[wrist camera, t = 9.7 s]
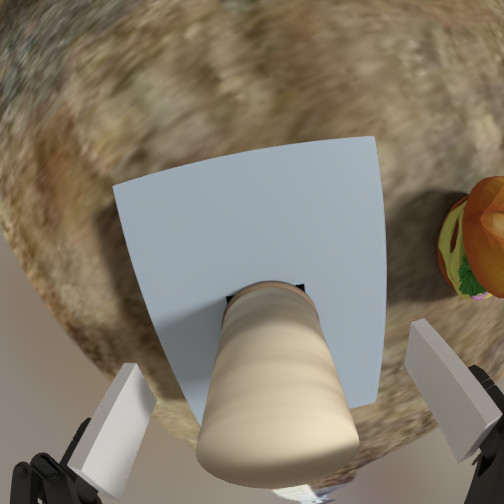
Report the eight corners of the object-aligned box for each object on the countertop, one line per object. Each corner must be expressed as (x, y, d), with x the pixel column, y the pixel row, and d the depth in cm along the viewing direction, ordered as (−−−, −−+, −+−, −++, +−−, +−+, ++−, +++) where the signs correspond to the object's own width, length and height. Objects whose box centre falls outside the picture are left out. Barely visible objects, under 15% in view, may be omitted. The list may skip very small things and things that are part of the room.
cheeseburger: (434, 311, 21) (494, 348, 11) (406, 204, 21) (470, 189, 11) (499, 271, 20) (560, 286, 10) (476, 176, 20) (539, 158, 10)
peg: (222, 263, 20) (166, 419, 7) (301, 250, 19) (370, 395, 6) (238, 329, 22) (219, 491, 8) (309, 318, 21) (354, 475, 8)
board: (145, 181, 19) (112, 186, 14) (346, 143, 18) (374, 136, 13) (208, 389, 24) (200, 427, 20) (360, 366, 23) (375, 401, 18)
